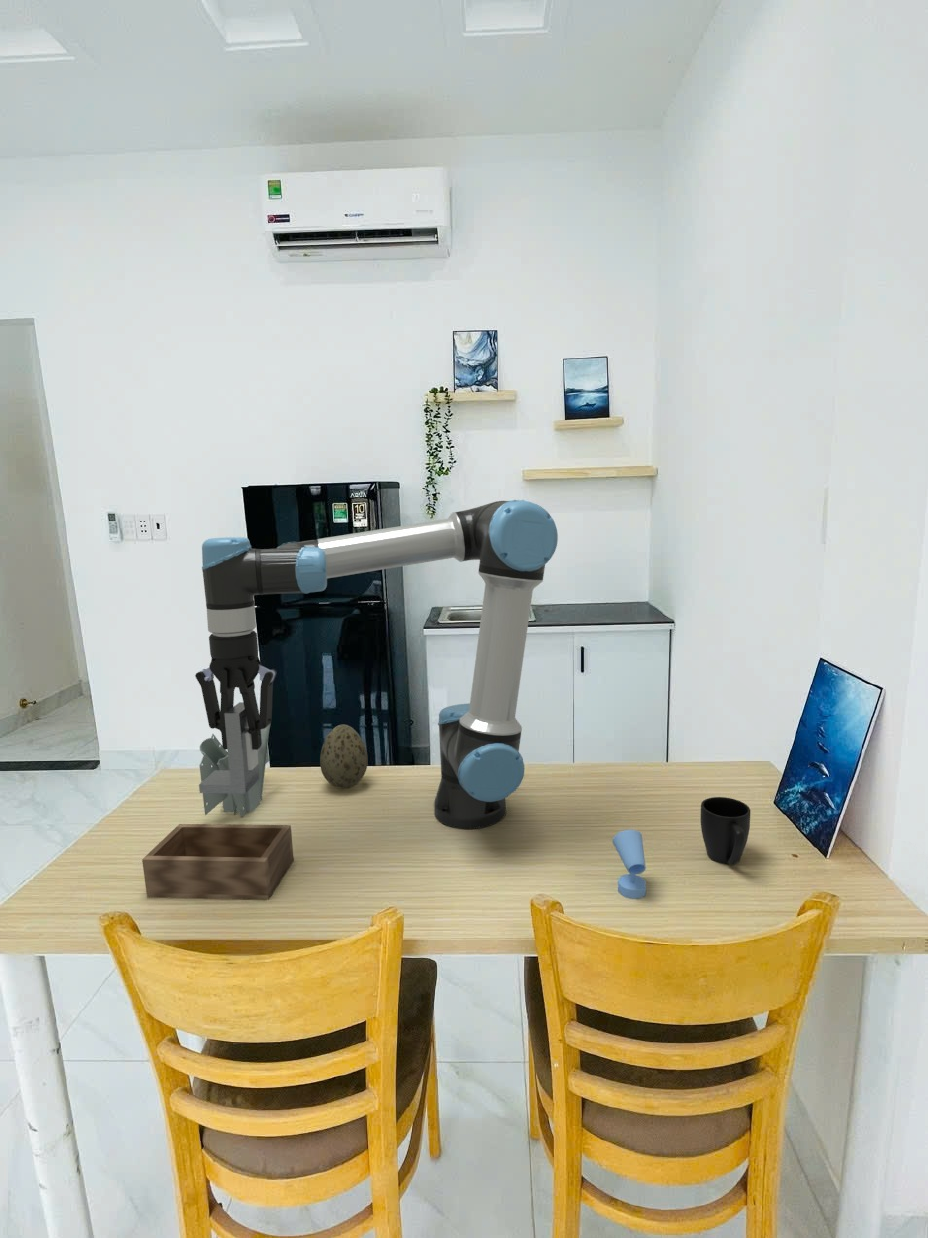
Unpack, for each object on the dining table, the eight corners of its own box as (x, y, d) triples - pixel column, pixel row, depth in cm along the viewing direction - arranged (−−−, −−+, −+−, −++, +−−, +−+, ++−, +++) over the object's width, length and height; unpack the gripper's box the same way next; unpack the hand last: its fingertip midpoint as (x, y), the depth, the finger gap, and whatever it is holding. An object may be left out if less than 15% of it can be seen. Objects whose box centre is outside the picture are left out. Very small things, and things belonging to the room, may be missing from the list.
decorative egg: (370, 793, 150) (366, 730, 148) (322, 799, 148) (317, 735, 145) (367, 774, 161) (363, 715, 158) (322, 780, 158) (317, 719, 156)
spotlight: (610, 878, 114) (622, 902, 107) (611, 824, 112) (622, 845, 105) (639, 876, 114) (652, 900, 107) (639, 822, 112) (653, 843, 106)
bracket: (225, 840, 132) (215, 744, 128) (192, 838, 133) (181, 743, 129) (285, 781, 158) (278, 701, 155) (257, 780, 159) (250, 700, 156)
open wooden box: (293, 859, 123) (290, 825, 122) (268, 899, 111) (264, 861, 110) (183, 858, 125) (179, 823, 124) (147, 897, 113) (142, 859, 112)
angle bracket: (259, 778, 117) (253, 702, 115) (245, 793, 111) (239, 713, 109) (215, 778, 118) (208, 702, 115) (199, 792, 112) (192, 713, 109)
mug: (711, 880, 112) (713, 828, 111) (694, 843, 124) (695, 796, 122) (762, 881, 111) (765, 829, 110) (740, 844, 123) (742, 796, 121)
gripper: (286, 627, 113) (295, 758, 117) (197, 627, 114) (210, 757, 118) (270, 636, 105) (280, 776, 109) (175, 636, 107) (189, 775, 111)
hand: (244, 766), depth 114 cm, fingers closed on angle bracket, 2 cm apart
